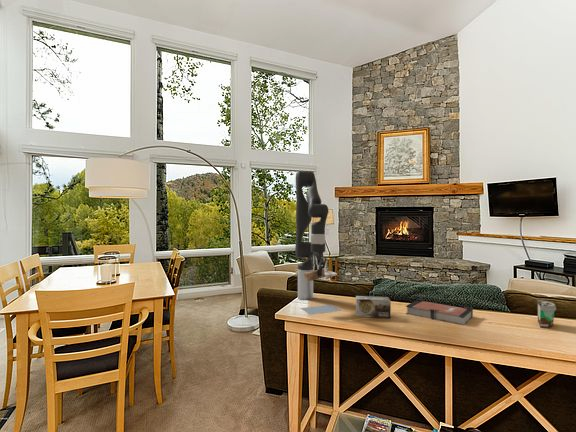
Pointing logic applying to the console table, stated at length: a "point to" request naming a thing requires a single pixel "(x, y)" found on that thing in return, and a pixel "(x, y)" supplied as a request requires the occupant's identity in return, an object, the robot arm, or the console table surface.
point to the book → (440, 312)
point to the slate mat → (320, 309)
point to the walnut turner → (314, 275)
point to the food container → (546, 314)
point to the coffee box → (373, 307)
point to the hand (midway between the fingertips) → (318, 275)
